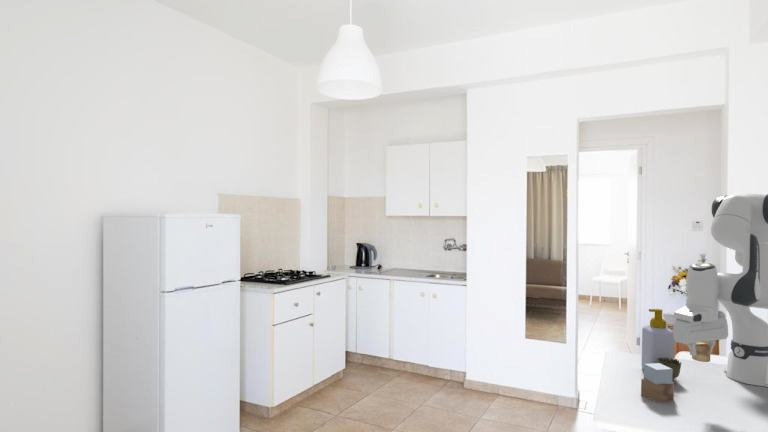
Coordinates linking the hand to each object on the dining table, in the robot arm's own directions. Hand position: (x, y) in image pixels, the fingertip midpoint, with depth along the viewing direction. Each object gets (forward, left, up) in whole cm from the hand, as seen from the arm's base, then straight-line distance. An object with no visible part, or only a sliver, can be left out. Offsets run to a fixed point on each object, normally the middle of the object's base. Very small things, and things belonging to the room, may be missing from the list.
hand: (701, 354), depth 154 cm
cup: (-10, -20, -17) cm, 28 cm away
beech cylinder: (0, 0, -2) cm, 2 cm away
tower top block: (+8, -9, -11) cm, 16 cm away
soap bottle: (-14, -29, -17) cm, 36 cm away
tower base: (+8, -9, -17) cm, 21 cm away
